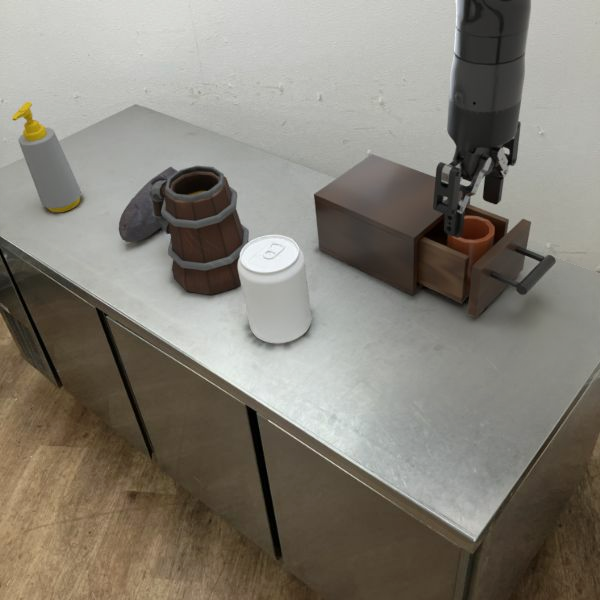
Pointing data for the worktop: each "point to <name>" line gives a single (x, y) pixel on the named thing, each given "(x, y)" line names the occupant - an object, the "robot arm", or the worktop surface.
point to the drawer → (479, 263)
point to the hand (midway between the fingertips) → (473, 217)
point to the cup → (473, 240)
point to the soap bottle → (47, 164)
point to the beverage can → (275, 288)
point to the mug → (201, 228)
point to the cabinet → (378, 219)
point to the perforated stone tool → (141, 212)
